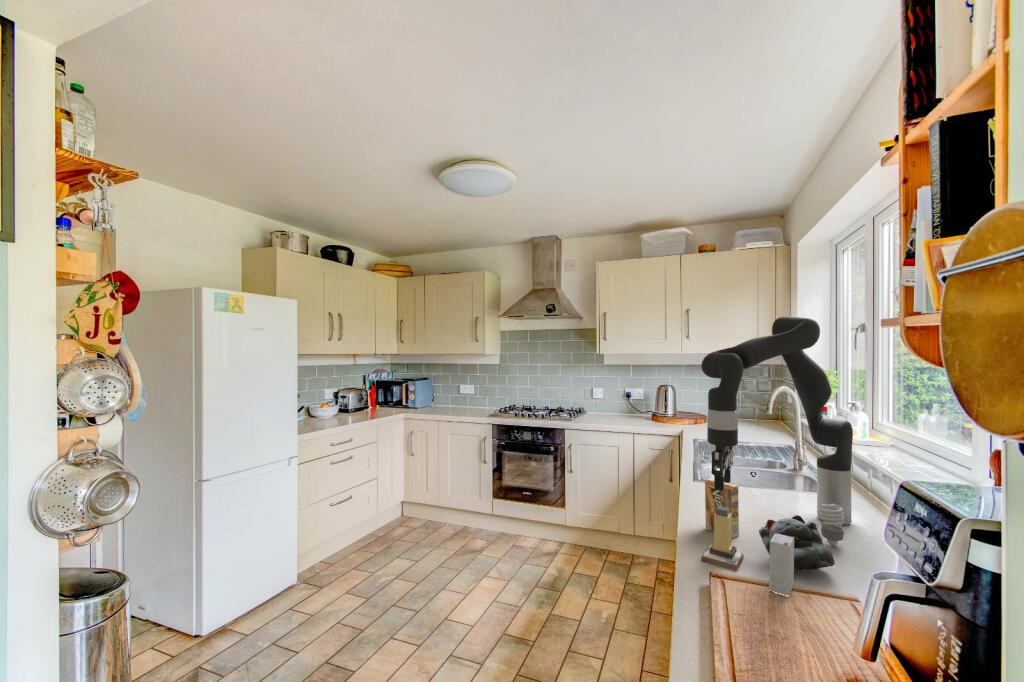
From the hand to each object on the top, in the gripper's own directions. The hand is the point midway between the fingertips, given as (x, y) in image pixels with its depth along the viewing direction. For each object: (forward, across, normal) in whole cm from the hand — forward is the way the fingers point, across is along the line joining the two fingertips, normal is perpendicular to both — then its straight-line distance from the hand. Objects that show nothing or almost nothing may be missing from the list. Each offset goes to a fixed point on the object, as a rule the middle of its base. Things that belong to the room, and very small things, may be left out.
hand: (722, 486), depth 122 cm
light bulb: (+20, +26, -24) cm, 41 cm away
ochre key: (+18, 0, 0) cm, 18 cm away
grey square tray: (+19, -1, 0) cm, 19 cm away
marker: (+16, 0, 0) cm, 16 cm away
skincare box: (+20, -10, -15) cm, 26 cm away
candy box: (+20, +18, +4) cm, 27 cm away
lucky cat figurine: (+20, +5, -16) cm, 26 cm away
